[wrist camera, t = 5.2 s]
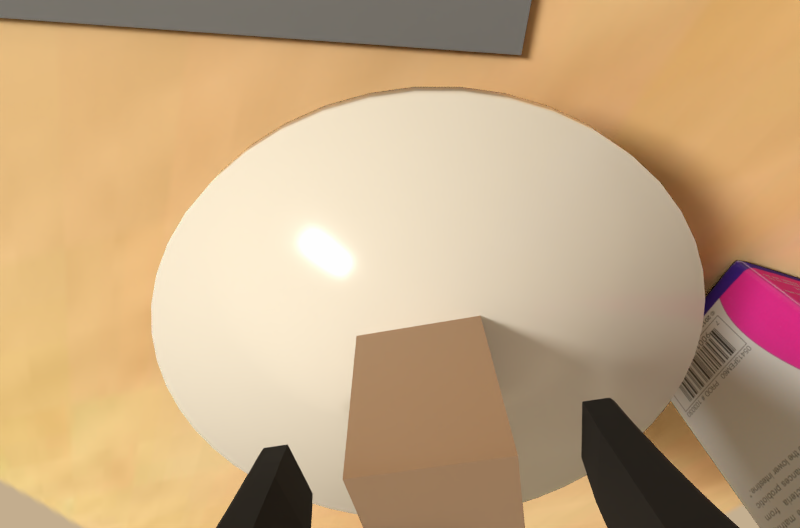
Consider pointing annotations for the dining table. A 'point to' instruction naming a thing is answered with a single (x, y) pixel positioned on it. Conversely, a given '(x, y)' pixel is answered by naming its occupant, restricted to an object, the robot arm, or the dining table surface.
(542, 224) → the lid
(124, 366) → the dining table surface
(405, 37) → the mat
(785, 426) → the supplement box
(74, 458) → the dining table surface
